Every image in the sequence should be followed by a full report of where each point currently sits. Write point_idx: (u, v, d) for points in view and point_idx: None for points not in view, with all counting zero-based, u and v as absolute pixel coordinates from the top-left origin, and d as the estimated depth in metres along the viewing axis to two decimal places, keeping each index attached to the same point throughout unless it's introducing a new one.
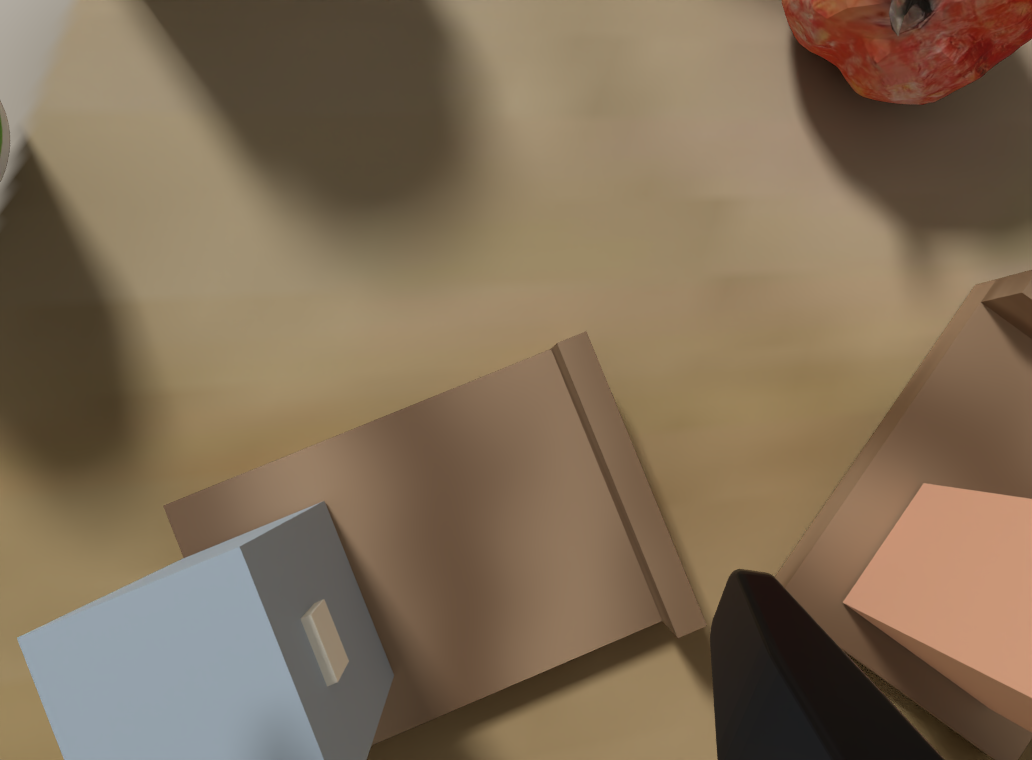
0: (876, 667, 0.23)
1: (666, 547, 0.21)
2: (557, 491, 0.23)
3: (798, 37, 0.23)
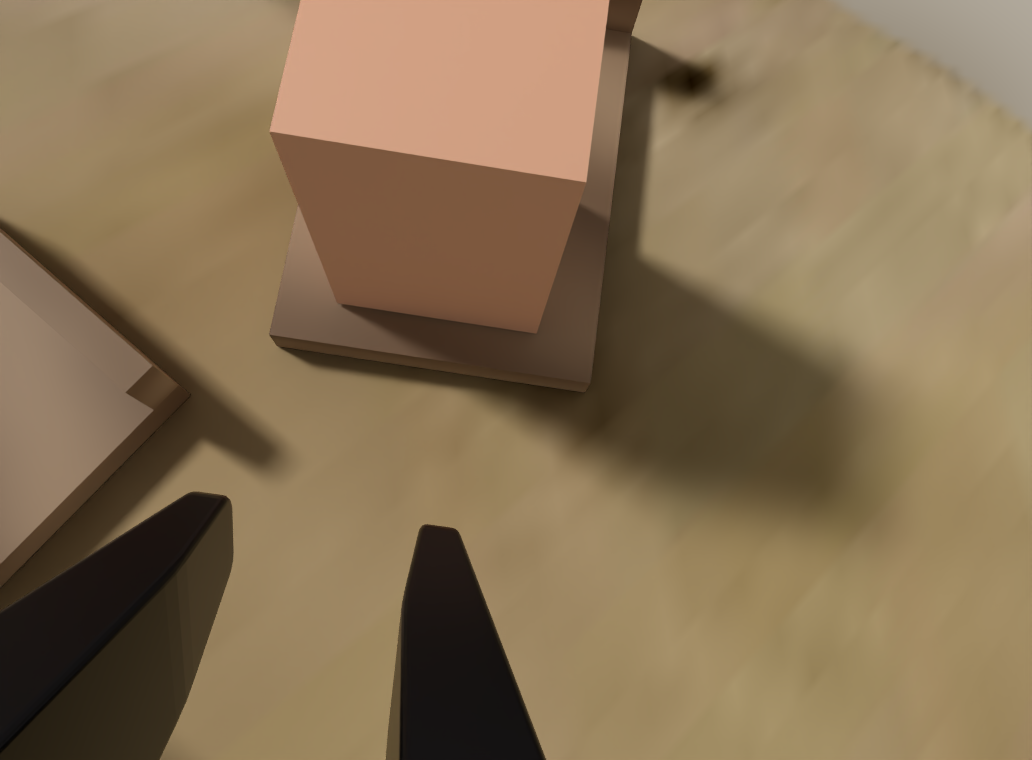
0: (404, 349, 0.21)
1: (74, 309, 0.18)
2: None
3: None
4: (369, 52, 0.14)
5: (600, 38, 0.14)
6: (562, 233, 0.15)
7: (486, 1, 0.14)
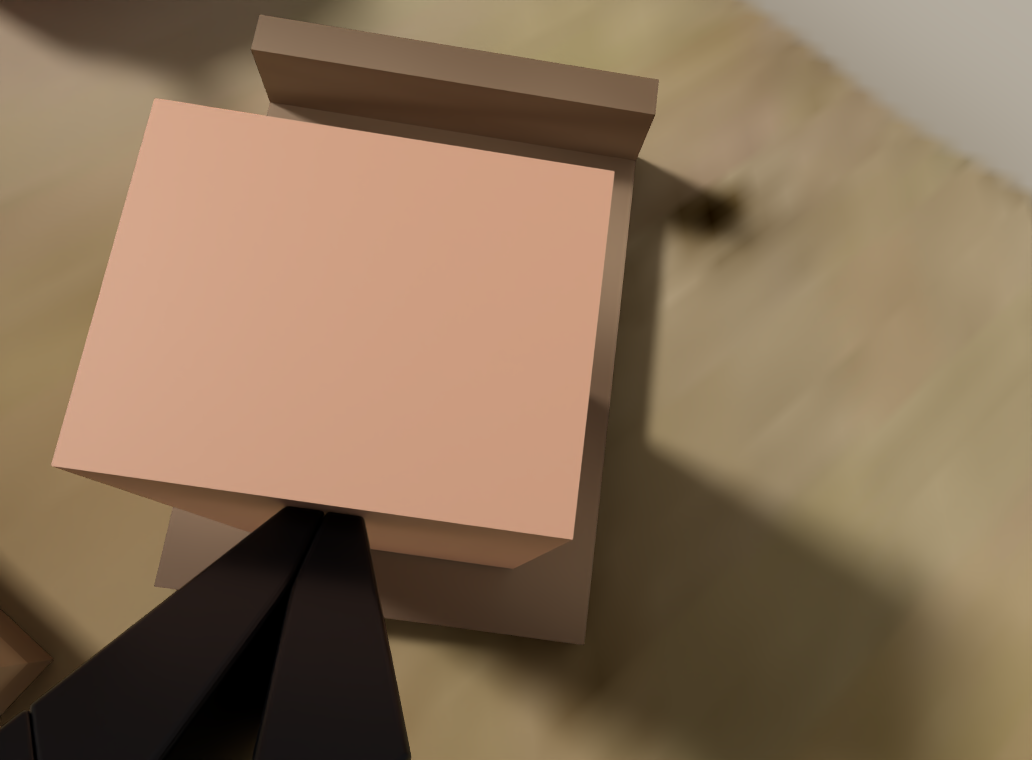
0: None
1: None
2: None
3: None
4: (224, 320, 0.08)
5: (595, 285, 0.09)
6: (539, 549, 0.10)
7: (415, 227, 0.09)
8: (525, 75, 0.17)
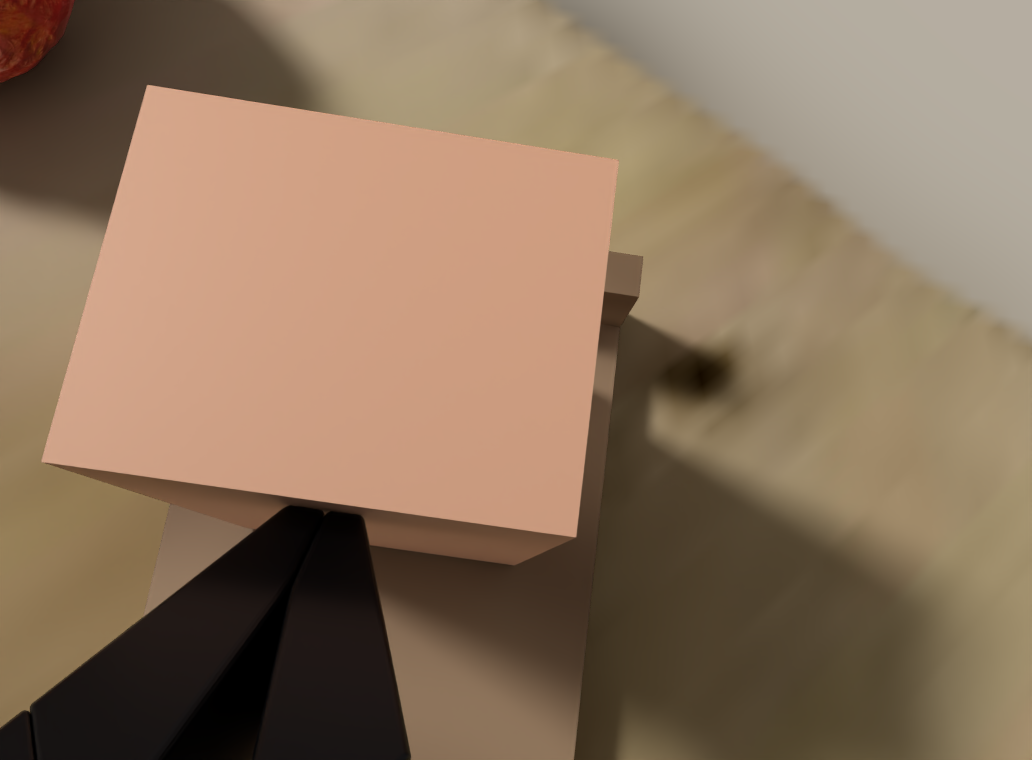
0: None
1: None
2: None
3: None
4: (219, 312, 0.08)
5: (599, 277, 0.09)
6: (541, 547, 0.10)
7: (414, 217, 0.09)
8: None
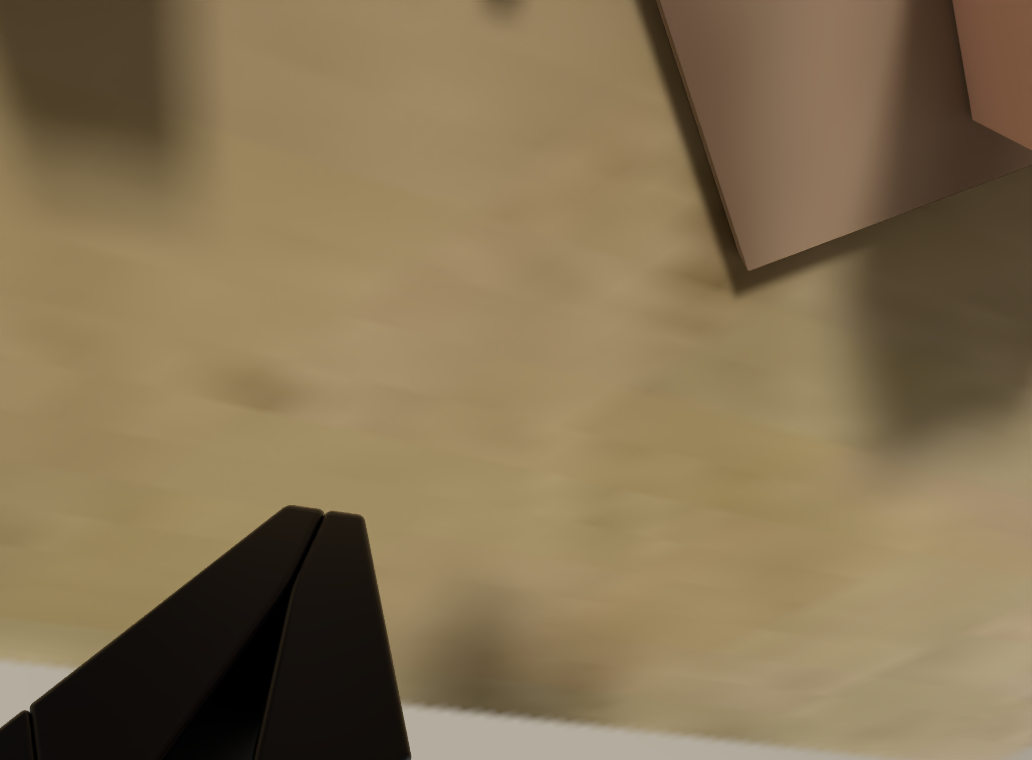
0: (691, 74, 0.17)
1: None
2: None
3: None
4: None
5: None
6: None
7: None
8: None
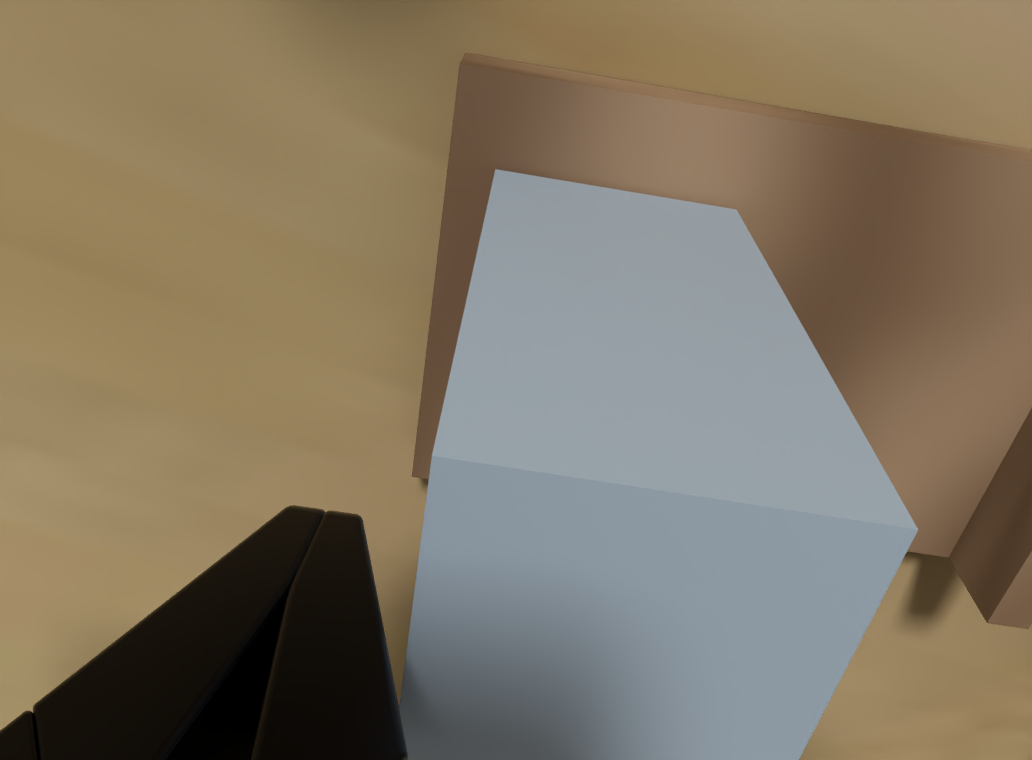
0: None
1: None
2: (978, 368, 0.15)
3: None
4: None
5: None
6: None
7: None
8: None
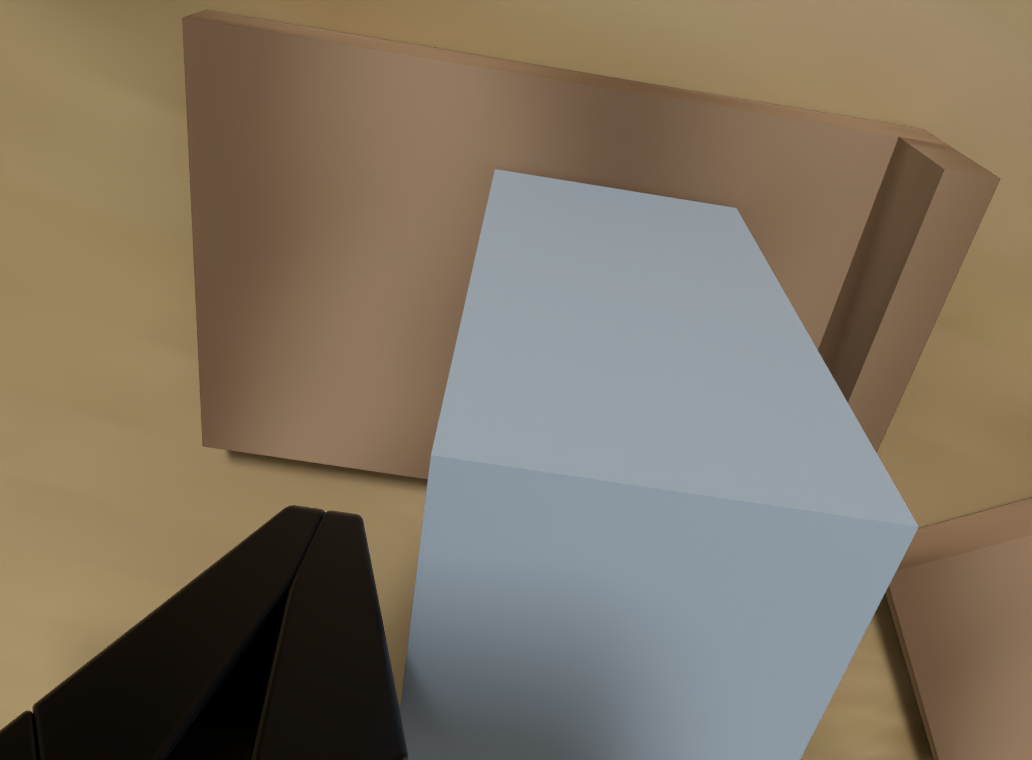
0: (920, 674, 0.19)
1: None
2: None
3: None
4: None
5: None
6: None
7: None
8: None
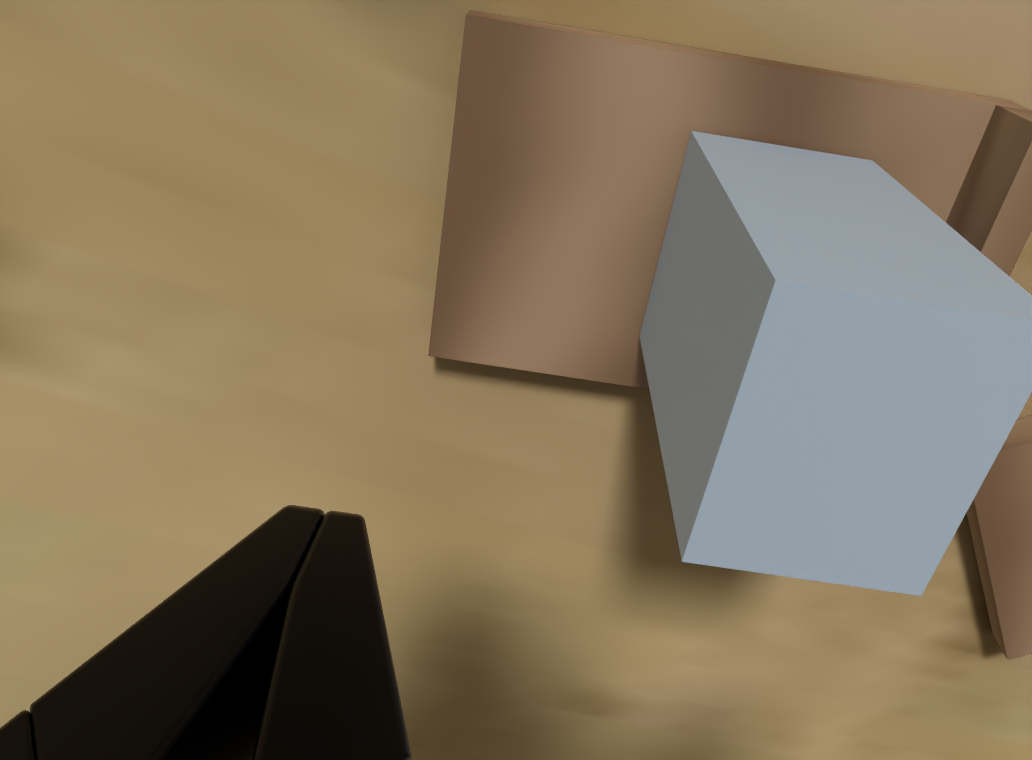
0: (989, 549, 0.23)
1: None
2: None
3: None
4: None
5: None
6: None
7: None
8: None
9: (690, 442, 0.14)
